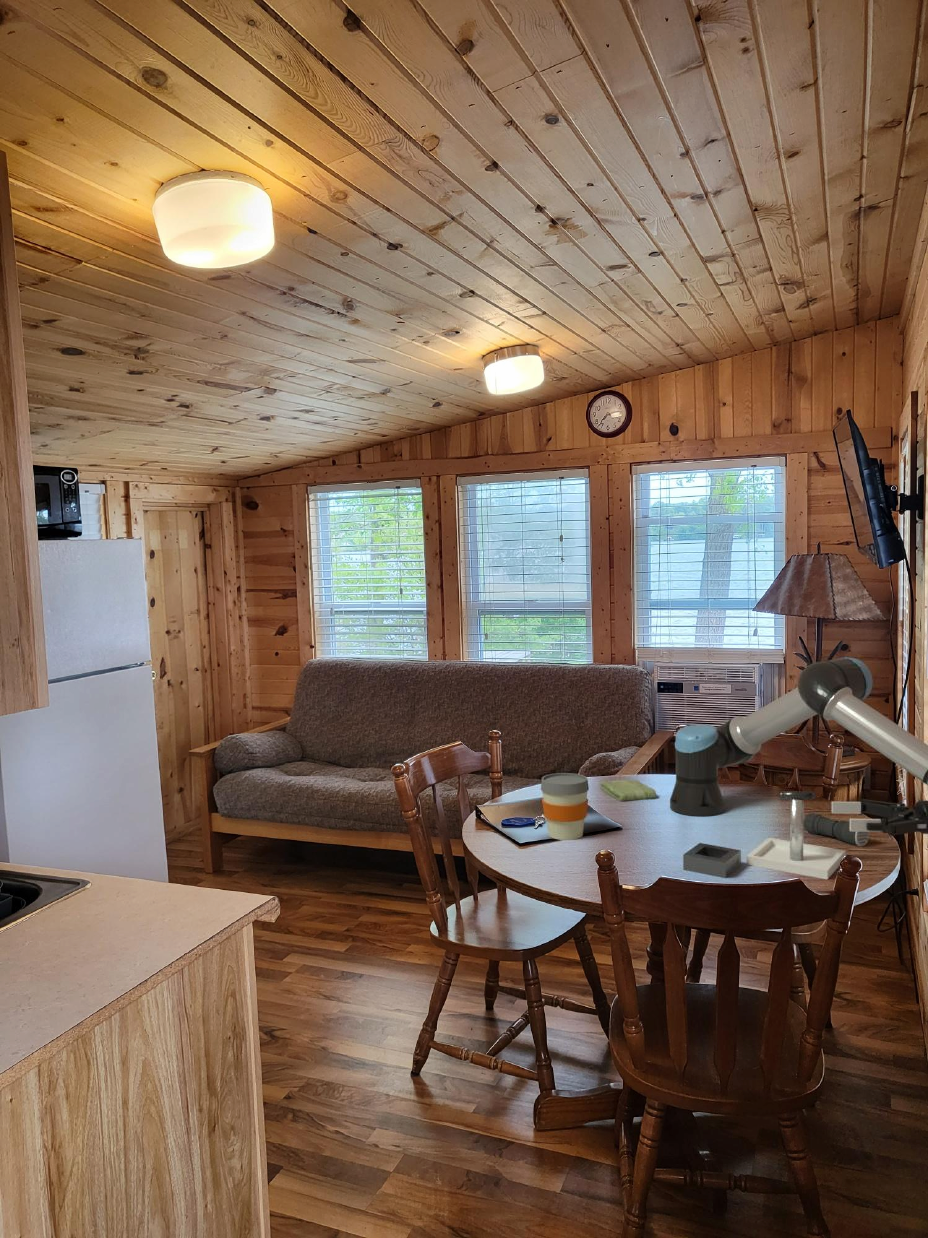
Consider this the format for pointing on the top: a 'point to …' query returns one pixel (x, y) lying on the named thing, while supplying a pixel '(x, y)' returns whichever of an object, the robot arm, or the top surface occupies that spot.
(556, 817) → the reusable coffee cup
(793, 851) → the chuck key
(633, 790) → the washcloth
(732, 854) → the chuck socket block
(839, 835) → the flashlight
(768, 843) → the tray
